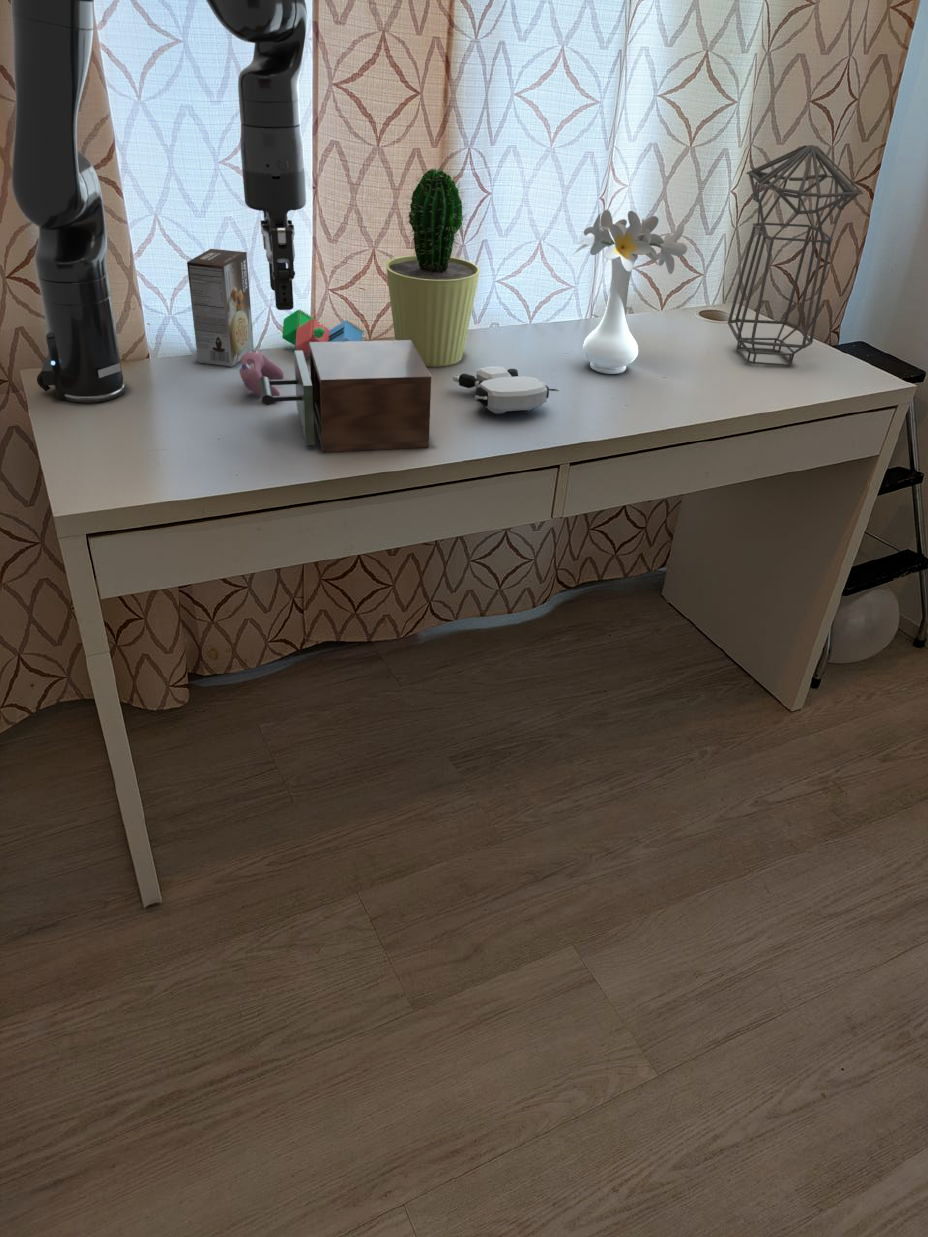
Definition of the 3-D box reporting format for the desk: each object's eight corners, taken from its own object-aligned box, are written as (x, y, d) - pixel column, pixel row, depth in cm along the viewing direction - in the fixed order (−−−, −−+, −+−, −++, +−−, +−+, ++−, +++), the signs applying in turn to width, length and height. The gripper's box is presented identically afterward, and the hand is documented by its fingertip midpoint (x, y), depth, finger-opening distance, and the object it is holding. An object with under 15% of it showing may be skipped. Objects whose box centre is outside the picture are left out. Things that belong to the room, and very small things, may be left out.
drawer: (265, 446, 131) (261, 387, 126) (259, 407, 142) (255, 351, 137) (404, 440, 135) (405, 382, 130) (388, 402, 146) (388, 348, 141)
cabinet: (322, 452, 133) (320, 379, 127) (311, 410, 144) (309, 342, 139) (428, 447, 136) (431, 376, 130) (409, 406, 148) (411, 339, 142)
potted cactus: (366, 349, 167) (366, 159, 150) (435, 334, 176) (443, 153, 159) (422, 377, 158) (428, 178, 141) (492, 360, 166) (506, 170, 150)
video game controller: (261, 388, 154) (238, 349, 150) (286, 376, 153) (264, 337, 150) (255, 413, 146) (231, 372, 142) (282, 400, 145) (258, 359, 141)
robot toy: (447, 394, 155) (486, 424, 143) (447, 366, 152) (487, 394, 140) (516, 386, 159) (560, 415, 147) (517, 359, 157) (562, 385, 145)
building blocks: (315, 378, 168) (363, 350, 160) (278, 356, 162) (326, 327, 155) (318, 339, 170) (365, 311, 163) (281, 317, 165) (328, 286, 157)
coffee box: (219, 345, 165) (210, 247, 156) (254, 349, 164) (248, 251, 155) (196, 362, 158) (185, 260, 149) (233, 367, 157) (225, 265, 148)
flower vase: (675, 372, 166) (703, 218, 152) (587, 386, 158) (609, 225, 144) (629, 348, 176) (651, 200, 162) (544, 360, 168) (560, 206, 154)
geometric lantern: (817, 376, 169) (876, 156, 149) (727, 370, 169) (774, 150, 149) (793, 346, 182) (845, 140, 162) (710, 341, 182) (751, 134, 162)
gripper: (238, 154, 123) (249, 284, 132) (245, 176, 112) (256, 317, 121) (298, 154, 125) (304, 283, 134) (310, 176, 113) (316, 315, 123)
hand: (281, 299), depth 127 cm, fingers open, 8 cm apart
